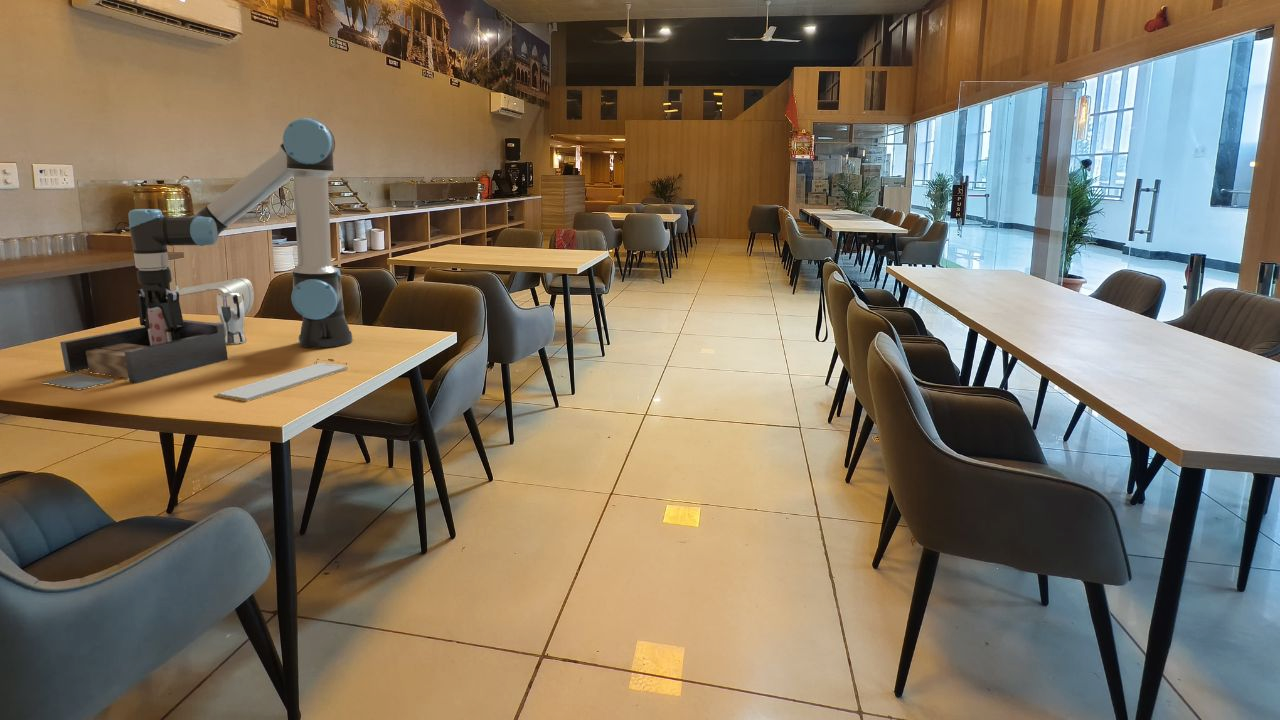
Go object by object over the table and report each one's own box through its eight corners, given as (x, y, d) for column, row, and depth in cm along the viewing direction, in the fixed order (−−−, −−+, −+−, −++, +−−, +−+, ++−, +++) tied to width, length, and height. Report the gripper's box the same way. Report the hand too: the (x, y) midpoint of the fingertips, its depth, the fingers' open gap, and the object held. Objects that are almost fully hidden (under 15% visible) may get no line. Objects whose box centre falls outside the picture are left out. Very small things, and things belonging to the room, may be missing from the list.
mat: (114, 381, 180) (114, 380, 179) (80, 390, 172) (79, 388, 172) (77, 375, 184) (76, 373, 184) (42, 383, 177) (41, 381, 177)
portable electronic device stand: (231, 337, 228) (224, 288, 224) (148, 339, 224) (140, 289, 220) (258, 321, 252) (253, 277, 249) (184, 323, 249) (177, 278, 245)
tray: (227, 359, 202) (223, 324, 199) (135, 383, 178) (128, 344, 176) (162, 350, 211) (157, 316, 208) (65, 372, 187) (58, 334, 185)
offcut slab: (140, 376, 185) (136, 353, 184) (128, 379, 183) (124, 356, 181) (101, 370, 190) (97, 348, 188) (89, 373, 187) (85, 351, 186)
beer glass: (252, 341, 223) (246, 293, 219) (230, 346, 217) (223, 296, 214) (240, 338, 227) (234, 291, 223) (217, 343, 221) (211, 294, 217)
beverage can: (160, 365, 195) (151, 310, 192) (151, 361, 199) (143, 307, 195) (183, 361, 200) (175, 307, 196) (174, 357, 203) (166, 304, 199)
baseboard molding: (210, 398, 170) (247, 404, 166) (208, 386, 170) (245, 392, 165) (314, 366, 198) (348, 371, 194) (313, 356, 197) (347, 361, 193)
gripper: (192, 269, 193) (204, 353, 199) (141, 264, 200) (154, 346, 205) (165, 272, 186) (178, 359, 192) (114, 268, 193) (128, 352, 199)
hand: (166, 352), depth 199 cm, fingers open, 6 cm apart
